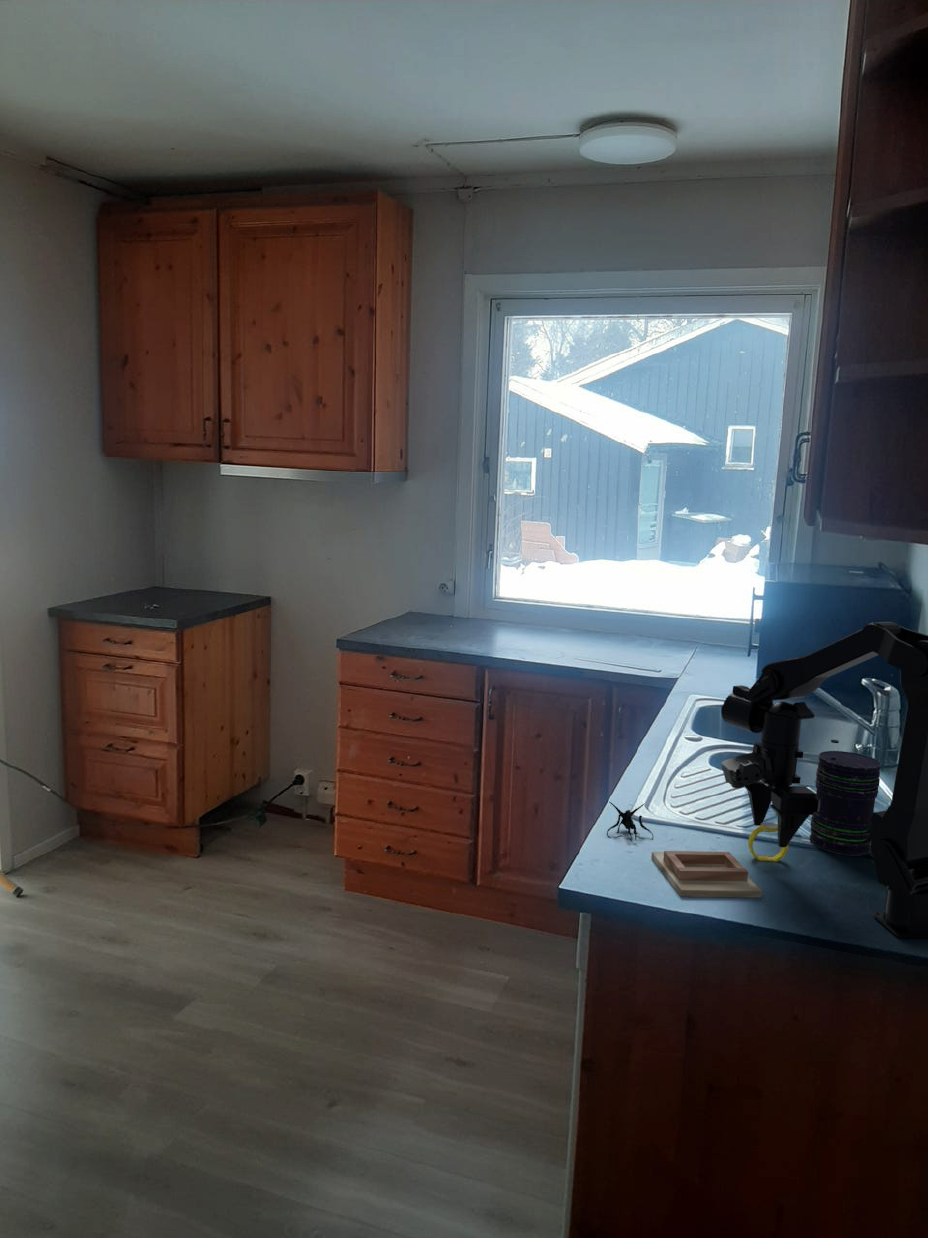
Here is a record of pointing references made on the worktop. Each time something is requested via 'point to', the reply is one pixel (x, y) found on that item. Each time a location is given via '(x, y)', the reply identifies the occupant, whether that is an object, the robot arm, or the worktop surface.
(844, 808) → the dark purple barrel
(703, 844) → the worktop surface
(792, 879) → the worktop surface
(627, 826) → the creature
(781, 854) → the watch
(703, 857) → the wooden framed tray
